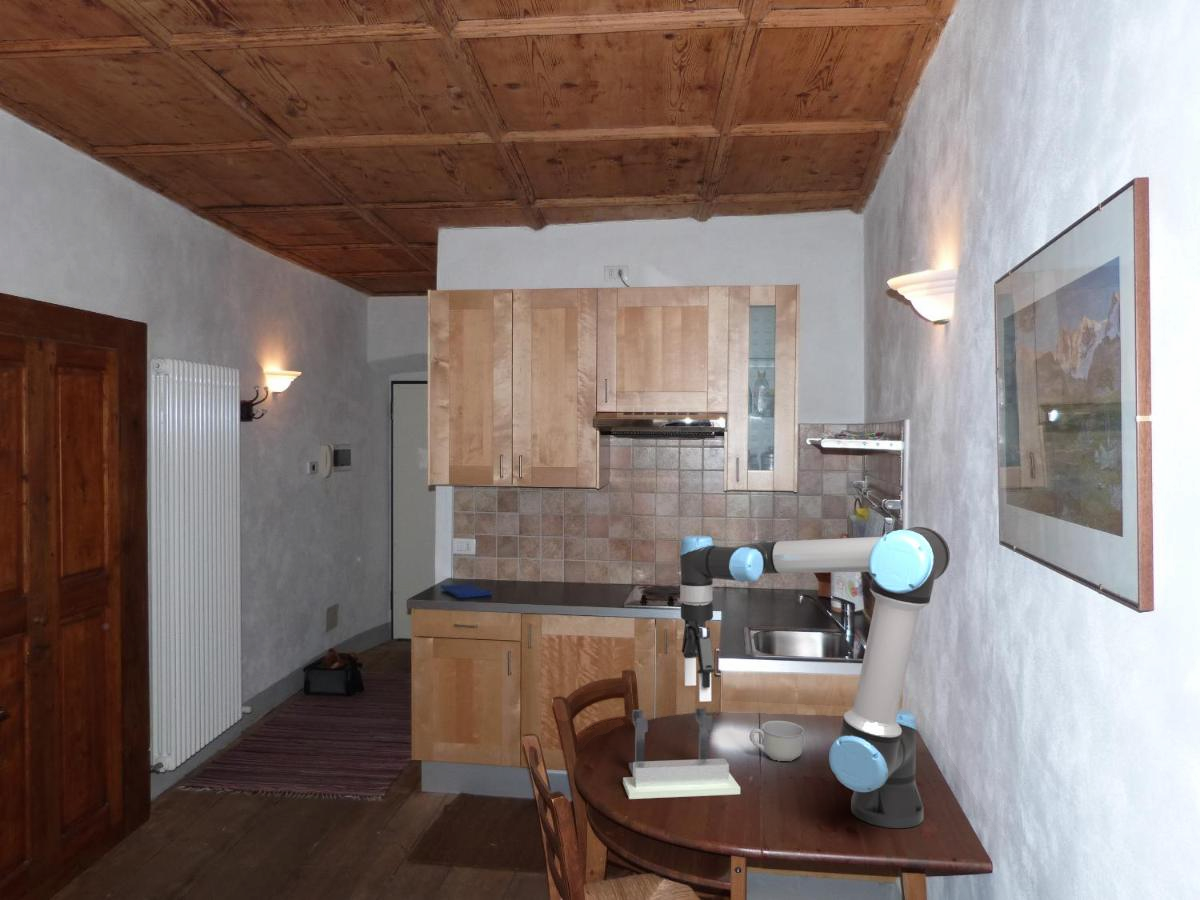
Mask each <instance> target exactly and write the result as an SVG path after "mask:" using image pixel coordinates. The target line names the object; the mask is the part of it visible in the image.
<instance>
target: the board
mask: <svg viewBox="0 0 1200 900" xmlns="http://www.w3.org/2000/svg"><path fill="white" fill-rule="evenodd" d="M622 784H623V787H624V789H625V792H626V795H627V796H628V800H638V799H640V800H641V799H657V798H659V799H660V798H679V797H680V798H681V797H684V798H685V797H686V798H687V797H702V796H703V797H705V796H706V797H707V796H709V797H710V796H729V795H730V796H731V795H741V786H740V785H739V784H738V782H737V781H736V780H735V778H734V776H733V775H732V774H731V773H730V772H729V784H710V785H686V786H663V787H639V788H636V787H635V784H634V782H633V776H629V777H628V776H627V777H625V776H624V777H622Z"/></svg>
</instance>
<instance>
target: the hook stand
mask: <svg viewBox="0 0 1200 900" xmlns="http://www.w3.org/2000/svg"><path fill="white" fill-rule="evenodd" d="M713 718H714V717H713V716H712V715H707V708H706V707H695V721H696V722H697V724H698V759H710V758H709V757H710V755H709V753H710V752H709V750H710V747H709V746H710V745H709V737H710V736H709V735H710V733H709V732H710V731H712V730H713V725H714V724H713ZM648 721H649V720H648V717H644V711H643V709H632V723H633V725H634V730H635V731H634V762H644V761H645V748H646V747H645V743H646V741H645V739H646V736H645V733H647V732H648V731H649V730H648V728H649V727H648V726H649V725H648V724H649V723H648ZM628 770H629V771H630V773H631V775H632V776H631V777H633V762H628Z"/></svg>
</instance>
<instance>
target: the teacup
mask: <svg viewBox="0 0 1200 900" xmlns="http://www.w3.org/2000/svg"><path fill="white" fill-rule="evenodd" d="M761 728H762V729H760V728H753V729H752V730H751V731H750V732H749V739H750V742H751V743H752V744H753V745H754V746H755V747H757V748H759V750H760V751H761V752H764V753H765V754H766V755H767V756H768V757H769V758H770V759H771V760H774V761H776V760H777V761H776V762H780V761H790V762H793V761H794V759H795V760H796V759H797V758H799V757H800V756H801V755H802V753H803V749H804V734H805V729H804V728H803V726H801V725H799V724H797V723H794V722H792V721H786V720H769V721H766V722H764V723H763V724H762V725H761ZM756 734H760V738H761V743H759V742H757V741H756V740H755V738H754V736H755V735H756ZM792 760H793V761H792Z"/></svg>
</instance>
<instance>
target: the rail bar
mask: <svg viewBox="0 0 1200 900" xmlns="http://www.w3.org/2000/svg"><path fill="white" fill-rule="evenodd" d="M632 763H633V776H632V777H633V782H634V784H635V787H636V788H639V787H663V786H686V785H710V784H729V773H730V764H729V762H728V761H727V760H726V759H725V758H724V757H723V758H709V759H699V758H698V759H697V758H696V759H695V758H694V759H678V760H677V759H673V760H653V761H651V760H650V761H647V760H646V761H645V760H644V762H635V761H633V762H632Z"/></svg>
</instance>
